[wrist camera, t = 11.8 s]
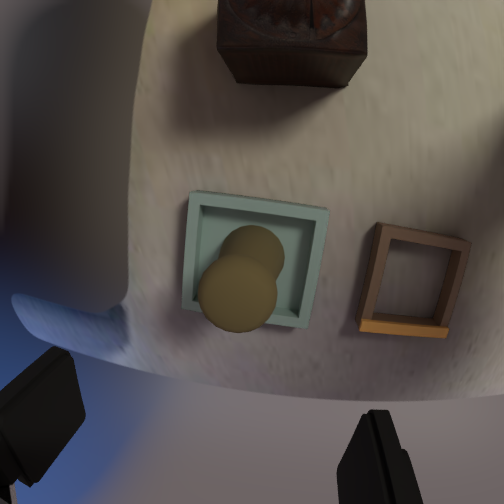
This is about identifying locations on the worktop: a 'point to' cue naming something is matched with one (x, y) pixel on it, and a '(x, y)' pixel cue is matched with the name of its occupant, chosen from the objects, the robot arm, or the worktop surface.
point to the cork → (242, 280)
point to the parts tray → (272, 218)
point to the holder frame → (374, 274)
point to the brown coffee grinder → (292, 41)
